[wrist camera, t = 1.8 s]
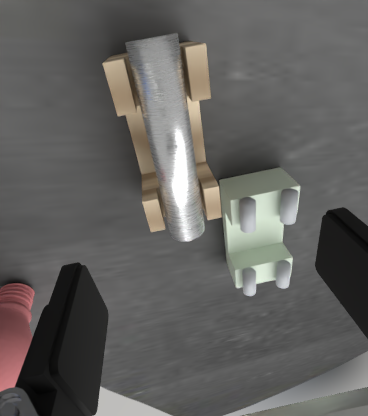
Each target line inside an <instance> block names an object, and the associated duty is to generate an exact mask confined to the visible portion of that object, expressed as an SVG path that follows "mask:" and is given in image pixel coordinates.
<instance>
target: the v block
mask: <svg viewBox="0 0 368 416" xmlns="http://www.w3.org/2000/svg"><path fill="white" fill-rule="evenodd" d="M219 183H220V194H221V205H222V216H223V228H224V239H225V250H226V261H227V265H228V268H229V271H230V273H231V276H232V278H233V281H234V284H235V286H236V288H240V287H243V292H244V294H245V295H247V296H253V295H254V294H255V293H256V284H258V283H262V282H267V281H271V280H276V285H277V286H278V287H279V288H287V287H288V286H289V281H290V276H291V268H292V259H293V257H292V256H291V254H290V253H289V251H288V250H287V249H286V247H285V246H284V244H283V243H282V240H283V227H284V224H287V225H290V224H293V223H295V221H296V213H297V211H298V202H299V193H300V185H299V184H298V183H297V182H296V181H295V180H294V179H292V178H291V177H290V176H289V175H288V174H287V173H286V172H285V171H284V170H283V169H282V168H281V167H279V168H274V169H269V170H264V171H260V172H255V173H250V174H245V175H240V176H235V177H231V178H226V179H221V180H219Z"/></svg>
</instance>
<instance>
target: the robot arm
mask: <svg viewBox="0 0 368 416" xmlns="http://www.w3.org/2000/svg"><path fill="white" fill-rule="evenodd" d="M315 266H316V270H317V272H318V274H319V275H320V276H321V278H322V279H323V280H324V282H325V283H326V284H327V286H328V287H329V288H330V289H331V291H332V292H333V293H334V295H335V296H336V297H337V299H338V300H339V301H340V303H341V304H342V305H343V307H344V308H345V309H346V311H347V312H348V313H349V315H350V316H351V317H352V319H353V320H354V321H355V323H356V324H357V325H358V327H359V328H360V329H361V331H362V332H363V333H364V335H365V336H366V337H367V338H368V226H367V225H366V224H364V223H363V222H362V221H361V220H360V219H358V218H357V217H356V216H355V215H354V214H352V213H351V212H350V211H349V210H347V209H346V208H343V207H342V208H338V209H333V210H329V211H327V212H326V215H324V216H323V218H322V224H321V230H320V237H319V243H318V250H317V256H316V262H315ZM107 325H108V310H107V307H106V305H105V303H104V301H103V299H102V297H101V295H100V293H99V291H98V289H97V287H96V285H95V283H94V281H93V279H92V277H91V275H90V273H89V271H88V269H87V267H86V266H85V265H81V264H80V263H73V264H68V265H64V266H62V268H61V271H60V273H59V276H58V279H57V282H56V285H55V288H54V290H53V293H52V296H51V299H50V302H49V305H47V306H45V307H44V309H43V311H42V314H41V317H40V319H39V322H38V325H37V327H36V330H35V333H34V336H33V338H32V341H31V344H30V346H29V349H28V352H27V355H26V357H25V360H24V363H23V365H22V368H21V371H20V374H19V376H18V379H17V382H16V385H15V387H13V388H8V389H5V390H3V391H1V392H0V416H93V415H95V414H96V412H97V407H98V399H99V390H100V382H101V374H102V366H103V358H104V350H105V341H106V333H107ZM242 416H368V387H367V388H362V389H357V390H353V391H348V392H344V393H339V394H335V395H331V396H326V397H321V398H317V399H312V400H308V401H304V402H300V403H295V404H290V405H286V406H282V407H277V408H273V409H268V410H264V411H260V412H255V413H251V414H246V415H242Z"/></svg>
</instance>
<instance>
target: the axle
mask: <svg viewBox="0 0 368 416" xmlns="http://www.w3.org/2000/svg"><path fill="white" fill-rule="evenodd" d="M125 44H126V48H127V53H128V57H129V61H130V65H131V70H132V74H133V78H134V82H135V87H136V91H137V95H138V99H139V104H140V108H141V112H142V116H143V120H144V125H145V129H146V133H147V137H148V142H149V146H150V150H151V154H152V159H153V163H154V167H155V171H156V176H157V180H158V184H159V188H160V192H161V197H162V201H163V205H164V209H165V214H166V218H167V222H168V226H169V231H170V235H171V236H172V237H173V238H174V239H176V240H178V241H191V240H194V239H196V238H198V237H200V236H201V235H202V234H203V232H204V230H205V225H204V218H203V211H202V204H201V197H200V190H199V182H198V175H197V168H196V161H195V154H194V147H193V139H192V132H191V125H190V118H189V111H188V103H187V96H186V89H185V82H184V75H183V68H182V60H181V53H180V46H179V39H178V33H173V34H167V35H161V36H156V37H150V38H145V39H140V40H135V41H130V42H126V43H125Z"/></svg>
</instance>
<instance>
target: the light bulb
mask: <svg viewBox="0 0 368 416" xmlns="http://www.w3.org/2000/svg"><path fill="white" fill-rule="evenodd" d="M34 295H35V293H34V290H33V289H32V288H31V287H30V286H28V285H25V284H21V283H12V284H7V285H5V286H3V287H2V288H1V289H0V392H1V391H3V390H5V389H8V388H13V387H15V385H16V382H17V379H18V376H19V374H20V371H21V368H22V365H23V363H24V360H25V357H26V355H27V352H28V349H29V346H30V344H31V341H32V334H31V330H30V327H29V322H30V320H31V312H30V309H31V305H32V303H33V297H34Z"/></svg>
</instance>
